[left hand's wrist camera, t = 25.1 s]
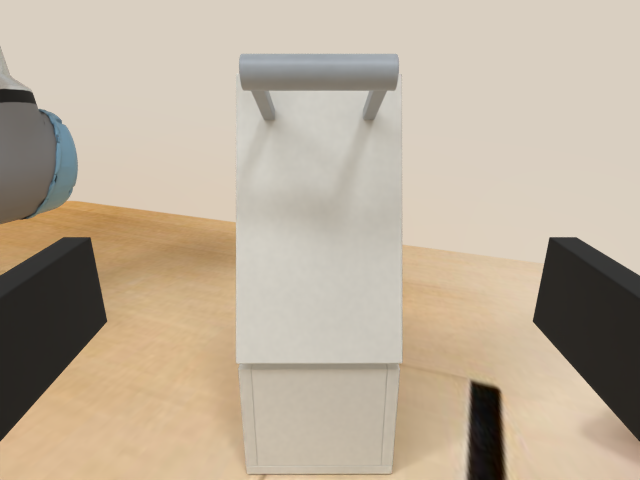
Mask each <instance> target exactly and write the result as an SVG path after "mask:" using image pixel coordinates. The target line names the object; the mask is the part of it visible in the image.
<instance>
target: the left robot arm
mask: <svg viewBox="0 0 640 480" xmlns="http://www.w3.org/2000/svg"><path fill="white" fill-rule="evenodd" d="M106 322H107V318H106V313H105V308H104V303H103V298H102V293H101V288H100V283H99V278H98V273H97V268H96V263H95V258H94V253H93V248H92V243H91V238H90V237H63V238H62V239H60V240H59V241H57V242H55V243H54V244H52V245H50V246H49V247H47V248H45V249H44V250H42V251H40V252H39V253H37V254H35V255H34V256H32V257H30V258H29V259H27V260H25V261H24V262H22V263H20V264H19V265H17V266H16V267H14V268H12V269H11V270H9V271H7V272H6V273H4V274H2V275H1V276H0V441H1V440H2V439H3V438H4V437H5V436H6V435H7V433H8V432H9V431H10V430H11V429H12V428H13V427H14V426H15V424H16V423H17V422H18V421H19V420H20V419H21V418H22V417H23V415H24V414H25V413H26V412H27V411H28V410H29V409H30V408H31V406H32V405H33V404H34V403H35V402H36V401H37V400H38V399H39V397H40V396H41V395H42V394H43V393H44V392H45V391H46V390H47V388H48V387H49V386H50V385H51V384H52V383H53V382H54V381H55V379H56V378H57V377H58V376H59V375H60V374H61V373H62V372H63V371H64V369H65V368H66V367H67V366H68V365H69V364H70V363H71V362H72V360H73V359H74V358H75V357H76V356H77V355H78V354H79V353H80V351H81V350H82V349H83V348H84V347H85V346H86V345H87V344H88V342H89V341H90V340H91V339H92V338H93V337H94V336H95V335H96V333H97V332H98V331H99V330H100V329H101V328H102V327H103V326H104V324H105V323H106ZM533 322H534V323H535V324H536V326H537V327H538V328H539V329H540V330H541V331H542V332H543V333H544V335H545V336H546V337H547V338H548V339H549V340H550V341H551V342H552V344H553V345H554V346H555V347H556V348H557V349H558V350H559V351H560V353H561V354H562V355H563V356H564V357H565V358H566V359H567V360H568V362H569V363H570V364H571V365H572V366H573V367H574V368H575V369H576V371H577V372H578V373H579V374H580V375H581V376H582V377H583V378H584V380H585V381H586V382H587V383H588V384H589V385H590V386H591V387H592V388H593V390H594V391H595V392H596V393H597V394H598V395H599V396H600V397H601V399H602V400H603V401H604V402H605V403H606V404H607V405H608V406H609V408H610V409H611V410H612V411H613V412H614V413H615V414H616V415H617V417H618V418H619V419H620V420H621V421H622V422H623V423H624V424H625V426H626V427H627V428H628V429H629V430H630V431H631V432H632V433H633V435H634V436H635V437H636V438H637V439H638V440H639V441H640V276H639V275H638V274H636V273H634V272H633V271H631V270H629V269H628V268H626V267H624V266H623V265H621V264H620V263H618V262H616V261H615V260H613V259H611V258H610V257H608V256H606V255H605V254H603V253H601V252H600V251H598V250H596V249H595V248H593V247H591V246H590V245H588V244H586V243H585V242H583V241H581V240H580V239H578V238H576V237H550V238H549V243H548V248H547V253H546V258H545V263H544V268H543V273H542V278H541V283H540V288H539V293H538V298H537V303H536V308H535V313H534V318H533Z"/></svg>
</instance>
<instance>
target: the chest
mask: <svg viewBox="0 0 640 480" xmlns="http://www.w3.org/2000/svg"><path fill="white" fill-rule="evenodd" d="M238 373H239V386H240V398H241V411H242V423H243V436H244V448H245V461H246V472H247V474H392V466H393V454H394V441H395V429H396V416H397V403H398V390H399V378H400V367H399V364H398V363H353V364H240V365H239V369H238Z"/></svg>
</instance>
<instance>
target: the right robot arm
mask: <svg viewBox="0 0 640 480" xmlns="http://www.w3.org/2000/svg"><path fill="white" fill-rule="evenodd" d="M77 171H78V162H77V154H76V148H75V144H74V141H73V138H72V136H71V134H70V132H69V130H68V128H67V127H66V126H65V125H63V124H62V121H61V119H60V118H59V117H58V116H56V115H55V114H53V113H51V112H48V111H46V110H42V109H38V107H37V104H36V101H35V98H34V95H33V93H32V90H31V89H29V88H28V87H26V86H25V85H23V84H22V83H20V82H18V81H17V80H15V79H14V78H12V77H11V76H10V73H9V71H8V68H7V65H6V62H5V59H4V56H3V53H2V50H1V47H0V224H3V223H7V222H11V221H15V220H18V219H30V218H32V217H34V216H35V215H37V214H40V213H43V212H46V211H50V210H53V209H55V208H57V207H59V206H61V205H62V204H63V203H65V202H66V201H67V199H68V198H69V197H70V195H71V193H72V190H73V187H74V186H75V183H76V179H77Z"/></svg>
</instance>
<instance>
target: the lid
mask: <svg viewBox="0 0 640 480" xmlns="http://www.w3.org/2000/svg"><path fill="white" fill-rule="evenodd" d="M402 362H403V361H402V75H401V74H399V59H398V55H397V54H241V55H240V59H239V74H237V75H236V363H237V364H353V363H402Z"/></svg>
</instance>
